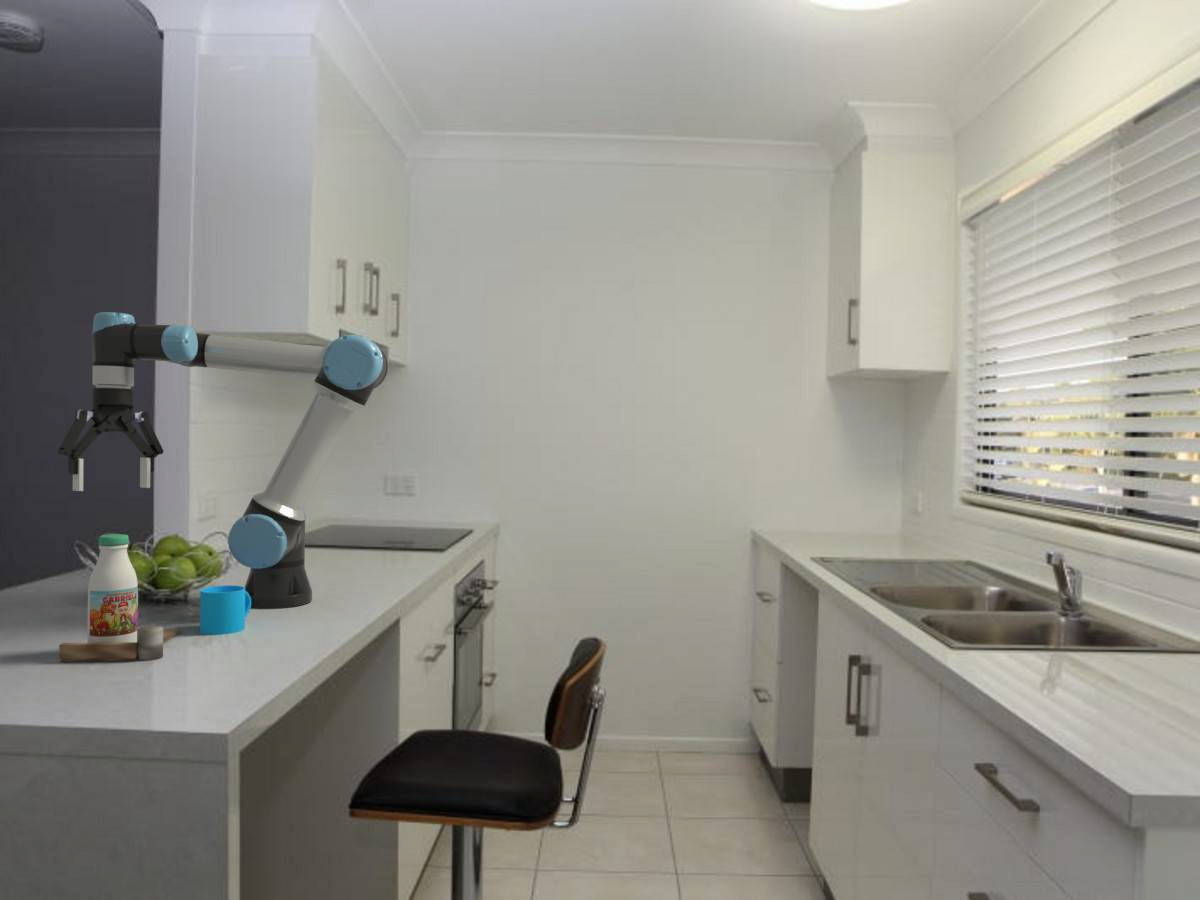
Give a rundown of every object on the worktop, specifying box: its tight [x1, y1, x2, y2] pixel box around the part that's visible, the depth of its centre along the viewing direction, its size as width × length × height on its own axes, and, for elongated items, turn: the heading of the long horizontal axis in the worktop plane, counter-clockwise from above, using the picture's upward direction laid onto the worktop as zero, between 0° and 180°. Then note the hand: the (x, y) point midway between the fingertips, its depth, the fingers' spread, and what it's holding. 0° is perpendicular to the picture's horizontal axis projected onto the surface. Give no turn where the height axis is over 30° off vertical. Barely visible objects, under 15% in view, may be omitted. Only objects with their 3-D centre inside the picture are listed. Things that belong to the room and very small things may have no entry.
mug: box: [199, 584, 252, 636], centre depth 169 cm, size 12×8×8 cm
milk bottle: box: [86, 533, 139, 643], centre depth 149 cm, size 8×8×20 cm
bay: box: [58, 625, 181, 663], centre depth 153 cm, size 16×21×5 cm
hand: (112, 489), depth 176 cm, fingers open, 13 cm apart
